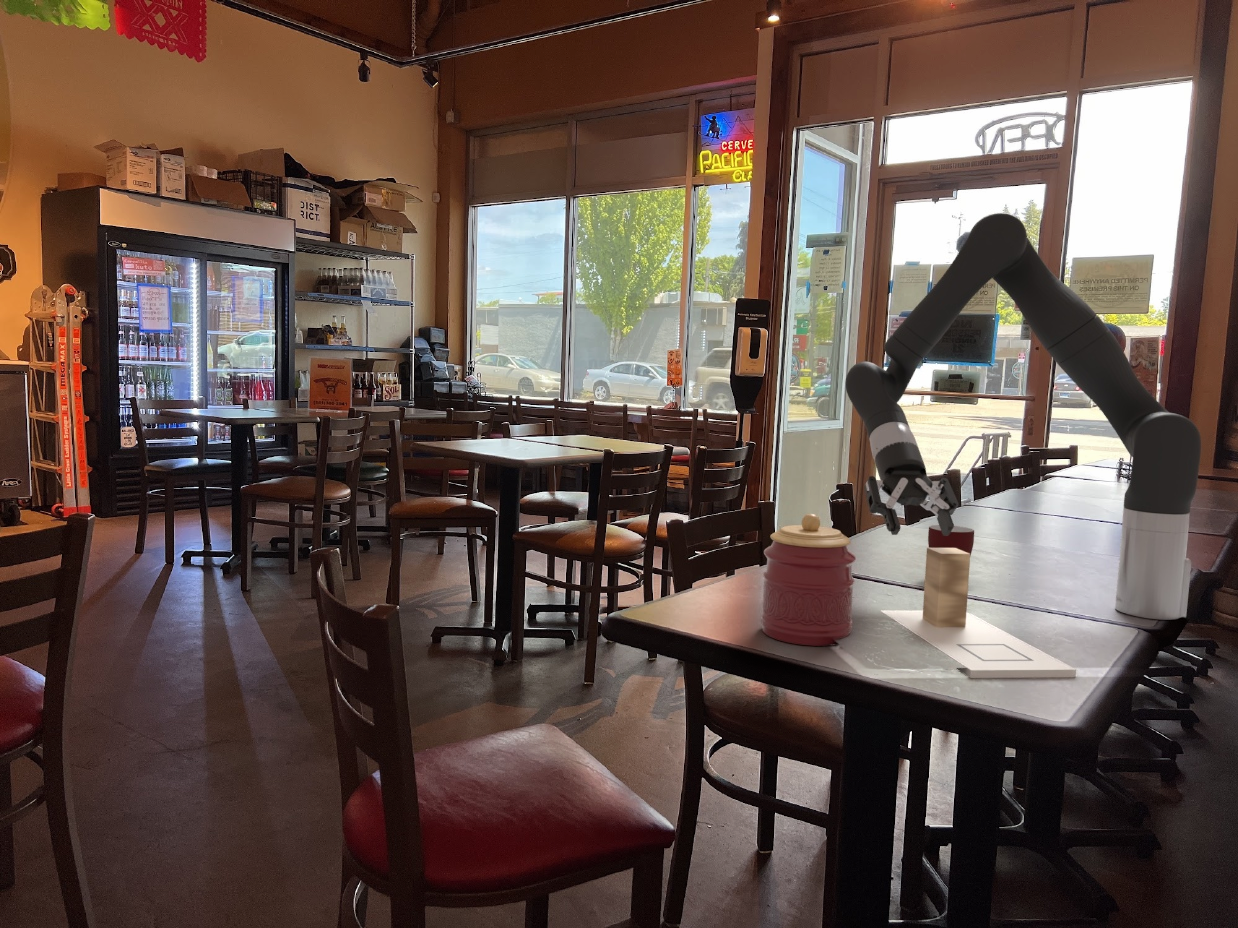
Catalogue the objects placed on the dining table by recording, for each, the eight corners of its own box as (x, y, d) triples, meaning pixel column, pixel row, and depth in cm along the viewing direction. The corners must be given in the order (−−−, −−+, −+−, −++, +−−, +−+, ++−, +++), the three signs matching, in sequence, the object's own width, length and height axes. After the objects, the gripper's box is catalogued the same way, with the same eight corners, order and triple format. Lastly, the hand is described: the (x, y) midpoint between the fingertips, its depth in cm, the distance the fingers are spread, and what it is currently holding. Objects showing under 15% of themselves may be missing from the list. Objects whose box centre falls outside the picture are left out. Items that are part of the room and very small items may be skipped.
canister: (775, 616, 132) (780, 504, 130) (860, 630, 126) (866, 512, 124) (748, 637, 120) (753, 515, 118) (840, 653, 114) (846, 524, 113)
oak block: (950, 618, 130) (955, 547, 129) (965, 626, 125) (970, 553, 124) (922, 618, 129) (926, 547, 128) (936, 626, 125) (941, 553, 124)
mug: (936, 571, 168) (939, 522, 167) (979, 578, 164) (982, 527, 163) (919, 580, 160) (923, 528, 159) (964, 587, 155) (967, 533, 154)
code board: (963, 616, 135) (964, 610, 135) (1075, 677, 107) (1076, 669, 107) (879, 616, 133) (879, 610, 133) (970, 678, 106) (971, 670, 106)
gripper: (863, 439, 141) (887, 518, 131) (944, 441, 143) (974, 519, 132) (849, 467, 147) (871, 545, 137) (928, 469, 148) (956, 546, 138)
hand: (922, 532), depth 134 cm, fingers open, 8 cm apart
